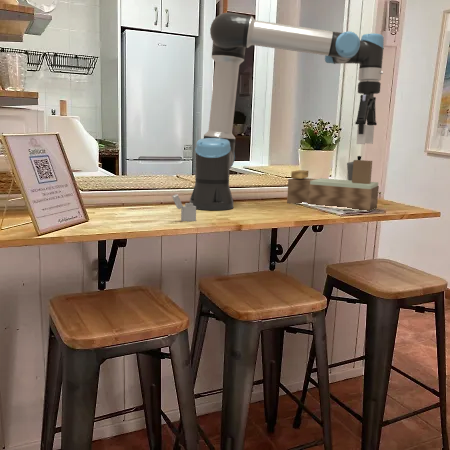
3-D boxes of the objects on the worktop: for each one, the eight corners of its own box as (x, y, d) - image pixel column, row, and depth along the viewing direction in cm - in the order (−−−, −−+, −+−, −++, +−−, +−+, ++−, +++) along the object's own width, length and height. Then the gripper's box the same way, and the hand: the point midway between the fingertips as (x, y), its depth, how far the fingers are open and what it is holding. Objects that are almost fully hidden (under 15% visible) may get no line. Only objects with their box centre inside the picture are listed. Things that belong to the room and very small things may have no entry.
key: (291, 177, 189) (291, 171, 189) (298, 176, 196) (298, 170, 196) (301, 178, 188) (301, 172, 187) (308, 177, 195) (308, 170, 194)
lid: (309, 188, 184) (311, 158, 182) (320, 185, 196) (322, 157, 194) (370, 193, 174) (372, 162, 172) (377, 190, 186) (380, 160, 184)
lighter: (193, 219, 151) (194, 193, 150) (196, 220, 150) (196, 194, 148) (171, 221, 148) (171, 194, 146) (173, 222, 146) (173, 194, 145)
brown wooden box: (284, 203, 189) (285, 179, 187) (297, 199, 201) (298, 177, 200) (369, 212, 175) (371, 186, 174) (376, 207, 188) (379, 183, 186)
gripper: (373, 77, 163) (368, 144, 167) (387, 84, 185) (382, 143, 189) (350, 78, 166) (345, 144, 170) (366, 84, 188) (361, 142, 192)
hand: (364, 143), depth 179 cm, fingers open, 13 cm apart
